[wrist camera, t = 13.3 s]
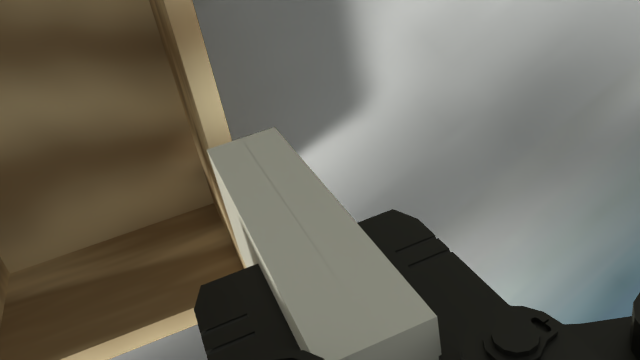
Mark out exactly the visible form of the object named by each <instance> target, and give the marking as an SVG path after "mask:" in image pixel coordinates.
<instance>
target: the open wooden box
mask: <svg viewBox="0 0 640 360" xmlns="http://www.w3.org/2000/svg"><path fill="white" fill-rule="evenodd" d="M231 141H232V139H231V135H230V132H229V128H228V125H227V121H226V118H225V114H224V111H223V107H222V104H221V100H220V96H219V93H218V89H217V86H216V82H215V79H214V75H213V72H212V68H211V65H210V61H209V58H208V54H207V51H206V47H205V44H204V40H203V37H202V33H201V30H200V26H199V22H198V19H197V15H196V12H195V8H194V5H193V1H192V0H0V360H108V359H111V358H113V357H116V356H119V355H121V354H124V353H126V352H129V351H131V350H134V349H136V348H139V347H141V346H144V345H146V344H149V343H151V342H154V341H157V340H159V339H162V338H164V337H167V336H169V335H172V334H174V333H177V332H179V331H182V330H184V329H187V328H189V327H192V326H195V325H197V324H198V323H197V319H196V316H195V312H194V307H195V304H196V300H197V297H198V293H199V290H200V286H201V285H203V284H206V283H209V282H211V281H214V280H216V279H219V278H222V277H224V276H227V275H229V274H232V273H235V272H237V271H240V270H242V269H245V268H247V267H246V265H245V263H244V260H243V258H242V256H241V254H240V251H239V248H238V245H237V242H236V238H235V235H234V232H233V229H232V226H231V223H230V220H229V217H228V214H227V211H226V208H225V205H224V201H223V198H222V195H221V192H220V189H219V186H218V183H217V180H216V177H215V174H214V171H213V167H212V164H211V161H210V158H209V155H208V152H207V149H210V148H213V147H216V146H219V145H222V144H225V143H228V142H231Z"/></svg>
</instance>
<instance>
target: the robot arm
mask: <svg viewBox="0 0 640 360" xmlns="http://www.w3.org/2000/svg"><path fill="white" fill-rule="evenodd" d="M207 152H208V155H209V158H210V161H211V164H212V167H213V171H214V174H215V177H216V180H217V183H218V186H219V189H220V192H221V195H222V198H223V201H224V205H225V208H226V211H227V214H228V217H229V220H230V223H231V226H232V229H233V232H234V235H235V238H236V242H237V245H238V248H239V251H240V254H241V256H242V258H243V260H244V263H245V265H246V267H247V268H245V269H242V270H240V271H237V272H235V273H232V274H229V275H227V276H224V277H222V278H219V279H216V280H214V281H211V282H209V283H206V284H203V285H201V286H200V290H199V293H198V297H197V300H196V304H195V307H194V312H195V316H196V319H197V323H198V326H199V330H200V333H201V336H202V341H203V344H204V348H205V351H206V354H207V358H208V360H640V293H639V295H638V296H637V298H636V299H635V301H634V302H633V311H632V316H630V317H623V318H617V319H610V320H603V321H597V322H590V323H583V324H567V325H565V324H562V323H560V322H559V321H557V320H556V319H554V318H552V317H551V316H549V315H548V314H546V313H544V312H542V311H538V310H535V309H531V308H528V307H524V306H510V305H509V304H507V303H506V302H505V301H504V300H503V299H502V298H501V297H500V296H499V295H498V294H497V293H496V292H495V291H493V290H492V289H491V288H490V287H489V286H488V285H487V284H486V283H485V282H484V281H483V280H482V279H481V278H480V277H479V276H478V275H477V274H475V273H474V272H473V271H472V270H471V269H470V268H469V267H468V266H467V265H466V264H465V263H464V262H463V261H462V260H461V259H460V258H459V257H457V256H456V255H455V254H454V253H453V252H450V250H449V248H448V247H447V246H446V245H445V244H444V243H443V242H442V241H441V240H439V239H436V237H435V235H434V234H433V233H432V232H431V231H430V230H429V229H428V228H427V227H426V226H425V225H424V224H423V223H421V222H420V221H419V220H418V219H416V218H414V217H411V216H409V215H406V214H404V213H401V212H399V211H396V210H393V209H392V210H390V211H387V212H384V213H382V214H379V215H377V216H374V217H371V218H369V219H366V220H364V221H361V222H358V223H357V222H356V221H355V220H354V219H353V218H352V217H351V215H350V214H349V213H348V212H347V211H346V210H345V208H344V207H343V206H342V205H341V204H340V203H339V201H338V200H337V199H336V198H335V197H334V196H333V194H332V193H331V192H330V191H329V190H328V189H327V187H326V186H325V185H324V184H323V183H322V182H321V181H320V179H319V178H318V177H317V176H316V175H315V174H314V172H313V171H312V170H311V169H310V168H309V167H308V165H307V164H306V163H305V162H304V161H303V160H302V158H301V157H300V156H299V155H298V154H297V153H296V151H295V150H294V149H293V148H292V147H291V146H290V144H289V143H288V142H287V141H286V140H285V139H284V137H283V136H282V135H281V134H280V133H279V132H278V130H277V129H276V128H275V127H273V128H270V129H267V130H264V131H261V132H258V133H255V134H252V135H249V136H246V137H243V138H240V139H237V140H234V141H231V142H228V143H225V144H222V145H219V146H216V147H213V148H210V149H207Z"/></svg>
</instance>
